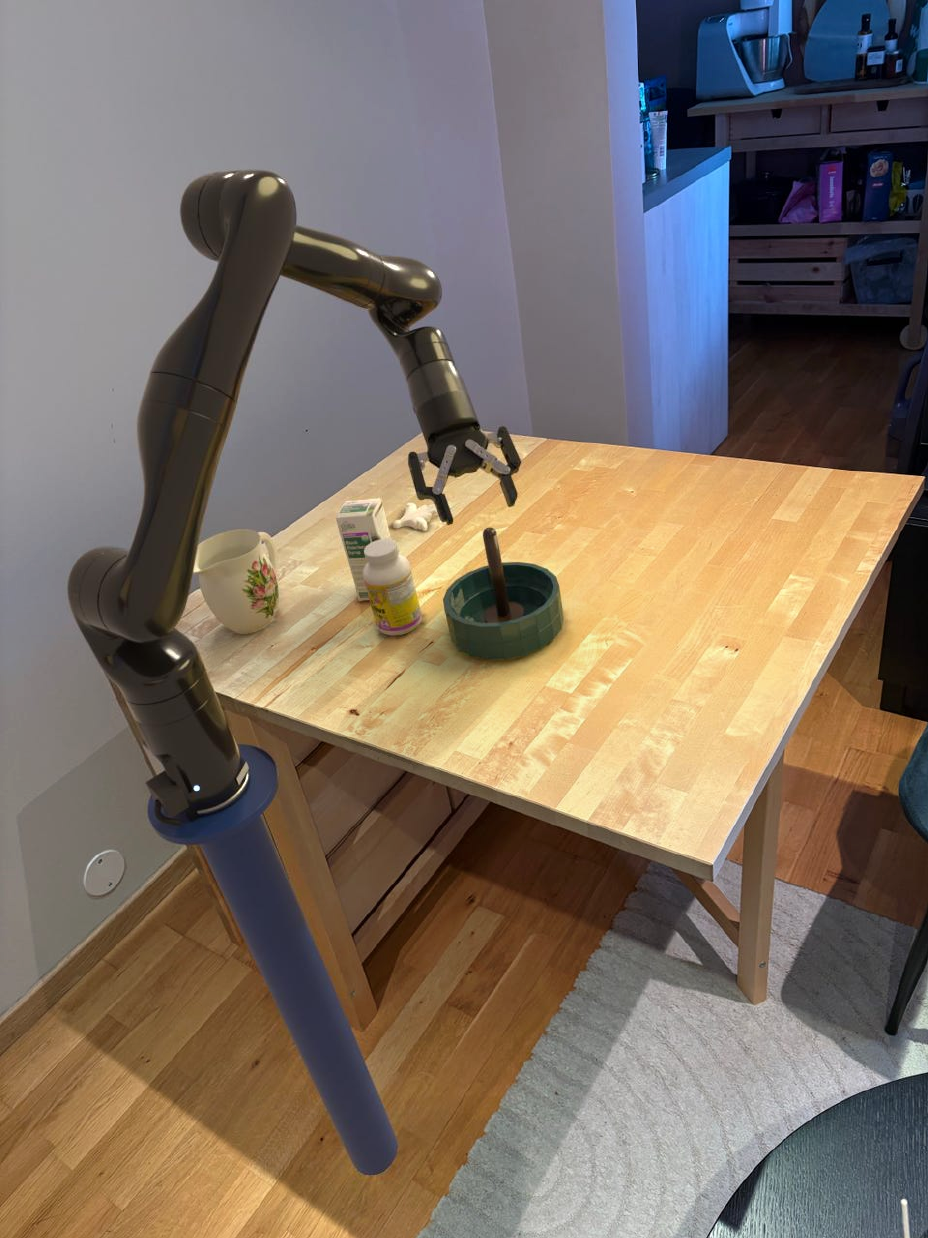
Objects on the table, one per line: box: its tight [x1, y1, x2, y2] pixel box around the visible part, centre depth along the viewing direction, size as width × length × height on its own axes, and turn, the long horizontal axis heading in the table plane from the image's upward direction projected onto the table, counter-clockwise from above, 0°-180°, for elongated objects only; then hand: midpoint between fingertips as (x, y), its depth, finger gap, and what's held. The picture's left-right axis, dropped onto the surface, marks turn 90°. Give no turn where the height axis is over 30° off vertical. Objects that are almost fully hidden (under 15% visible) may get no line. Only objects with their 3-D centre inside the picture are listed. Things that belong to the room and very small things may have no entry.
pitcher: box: [193, 528, 280, 635], centre depth 137 cm, size 11×18×14 cm, turn 158°
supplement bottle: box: [363, 538, 423, 636], centre depth 129 cm, size 7×7×13 cm
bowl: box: [442, 561, 565, 661], centre depth 125 cm, size 16×16×6 cm
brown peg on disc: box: [482, 526, 525, 623], centre depth 122 cm, size 6×6×15 cm
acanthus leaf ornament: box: [392, 502, 439, 532], centre depth 158 cm, size 8×7×2 cm
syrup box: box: [335, 497, 392, 602], centre depth 137 cm, size 6×6×14 cm
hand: (481, 513), depth 120 cm, fingers open, 8 cm apart
